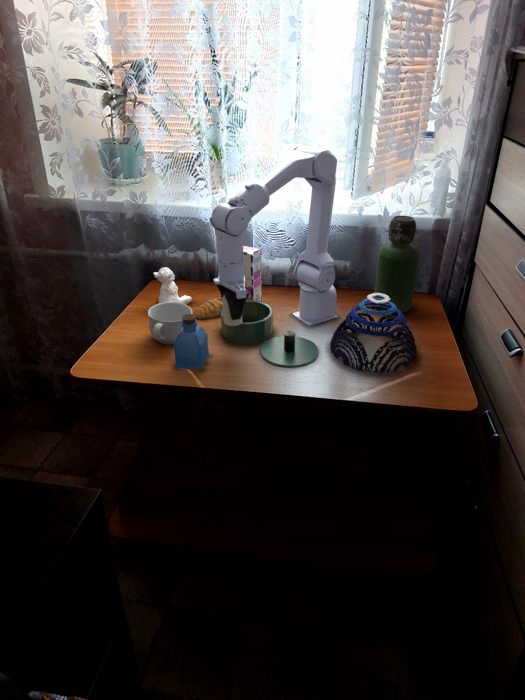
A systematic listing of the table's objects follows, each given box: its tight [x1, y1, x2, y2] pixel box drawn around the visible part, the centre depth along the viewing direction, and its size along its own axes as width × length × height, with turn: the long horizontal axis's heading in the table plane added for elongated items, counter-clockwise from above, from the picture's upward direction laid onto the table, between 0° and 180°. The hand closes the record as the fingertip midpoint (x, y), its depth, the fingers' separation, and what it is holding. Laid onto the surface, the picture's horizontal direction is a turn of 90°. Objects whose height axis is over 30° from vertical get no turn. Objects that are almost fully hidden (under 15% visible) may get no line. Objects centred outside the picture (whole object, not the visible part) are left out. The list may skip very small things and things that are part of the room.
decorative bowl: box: [329, 292, 418, 374], centre depth 126 cm, size 20×20×14 cm
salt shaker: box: [223, 291, 243, 326], centre depth 125 cm, size 4×4×7 cm
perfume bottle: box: [173, 313, 210, 371], centre depth 123 cm, size 6×6×12 cm
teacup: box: [147, 302, 193, 345], centre depth 133 cm, size 14×11×8 cm
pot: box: [220, 300, 274, 344], centre depth 137 cm, size 13×13×6 cm
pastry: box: [193, 296, 223, 320], centre depth 146 cm, size 9×7×4 cm
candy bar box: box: [220, 245, 263, 303], centre depth 149 cm, size 11×5×16 cm, turn 58°
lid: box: [260, 330, 319, 368], centre depth 128 cm, size 14×14×6 cm
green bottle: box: [373, 215, 420, 314], centre depth 144 cm, size 10×10×25 cm
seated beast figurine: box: [153, 266, 193, 306], centre depth 148 cm, size 10×9×12 cm
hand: (232, 314), depth 126 cm, fingers closed on salt shaker, 4 cm apart
